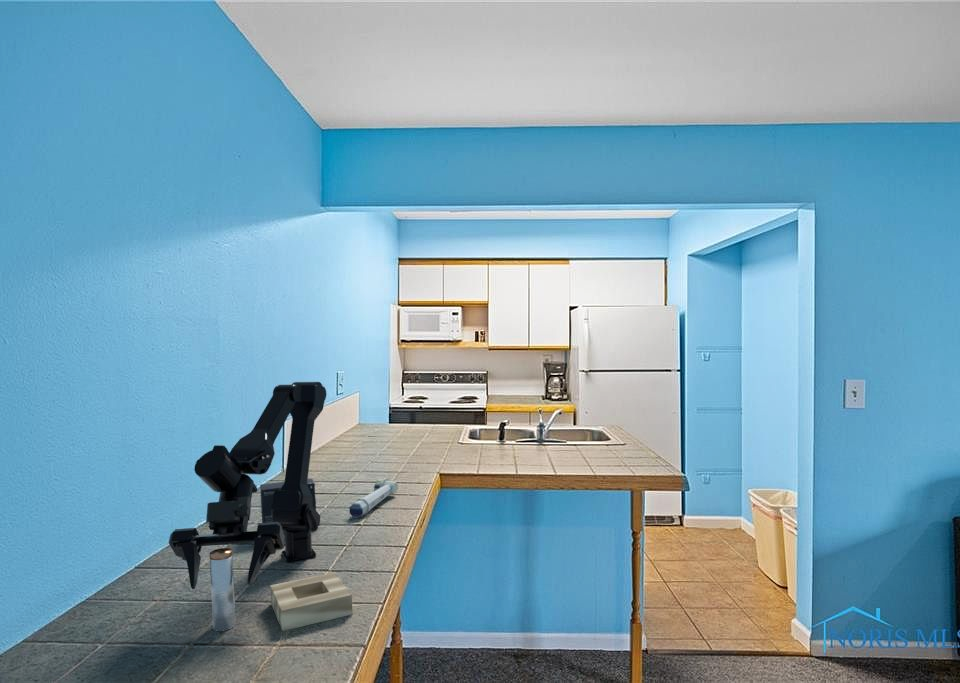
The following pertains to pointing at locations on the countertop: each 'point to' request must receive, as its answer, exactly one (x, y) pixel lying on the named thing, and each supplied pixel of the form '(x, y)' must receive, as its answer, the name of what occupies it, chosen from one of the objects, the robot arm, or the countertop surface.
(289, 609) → the socket block
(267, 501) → the small box
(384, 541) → the countertop surface
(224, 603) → the copper capped silver cylinder
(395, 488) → the white blue cylinder
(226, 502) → the robot arm
